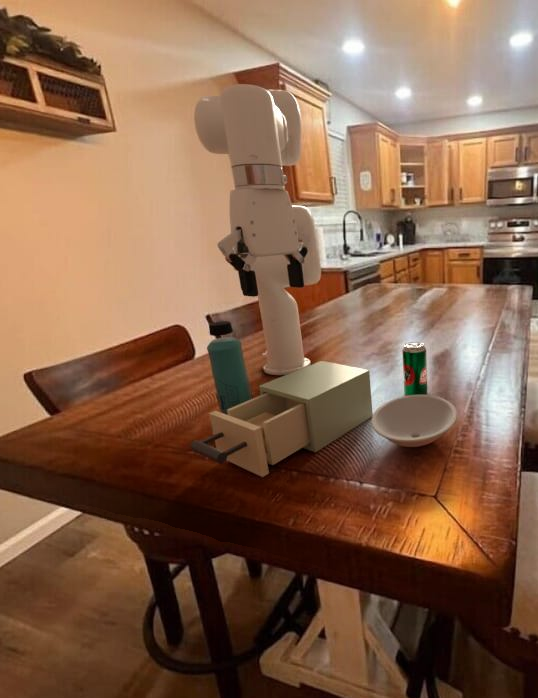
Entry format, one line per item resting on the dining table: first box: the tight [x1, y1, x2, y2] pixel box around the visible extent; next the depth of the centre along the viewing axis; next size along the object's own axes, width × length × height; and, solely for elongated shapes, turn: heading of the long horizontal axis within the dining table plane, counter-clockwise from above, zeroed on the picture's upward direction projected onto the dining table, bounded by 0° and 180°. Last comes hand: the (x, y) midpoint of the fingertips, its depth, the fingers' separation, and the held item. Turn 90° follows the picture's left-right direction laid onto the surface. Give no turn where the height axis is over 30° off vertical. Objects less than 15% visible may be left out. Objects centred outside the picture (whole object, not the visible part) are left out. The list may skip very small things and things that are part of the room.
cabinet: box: [258, 360, 374, 453], centre depth 77 cm, size 16×13×10 cm
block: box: [245, 412, 276, 453], centre depth 67 cm, size 4×4×4 cm
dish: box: [371, 394, 458, 448], centre depth 70 cm, size 18×14×5 cm
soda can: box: [401, 341, 428, 396], centre depth 87 cm, size 5×5×12 cm
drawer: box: [189, 393, 311, 478], centre depth 66 cm, size 20×12×8 cm, turn 146°
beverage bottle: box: [206, 320, 253, 415], centre depth 80 cm, size 6×7×20 cm
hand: (275, 291), depth 68 cm, fingers open, 9 cm apart
